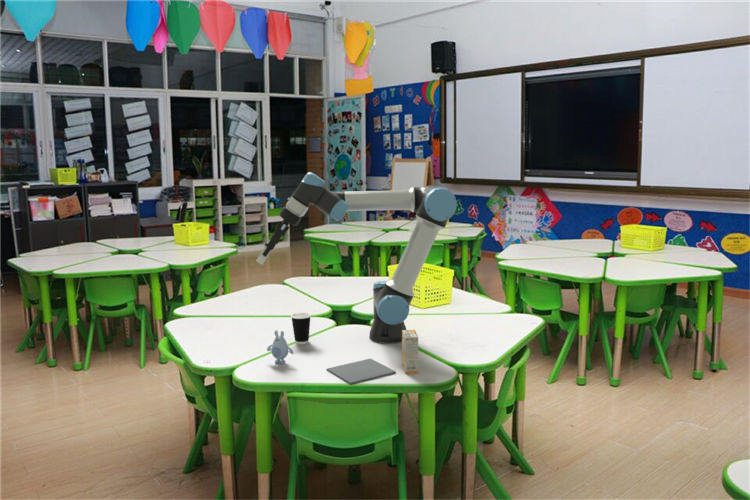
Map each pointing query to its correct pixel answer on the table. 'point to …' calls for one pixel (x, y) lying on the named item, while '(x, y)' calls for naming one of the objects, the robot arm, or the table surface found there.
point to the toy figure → (279, 348)
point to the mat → (360, 371)
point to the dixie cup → (301, 327)
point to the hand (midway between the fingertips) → (260, 259)
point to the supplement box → (410, 351)
